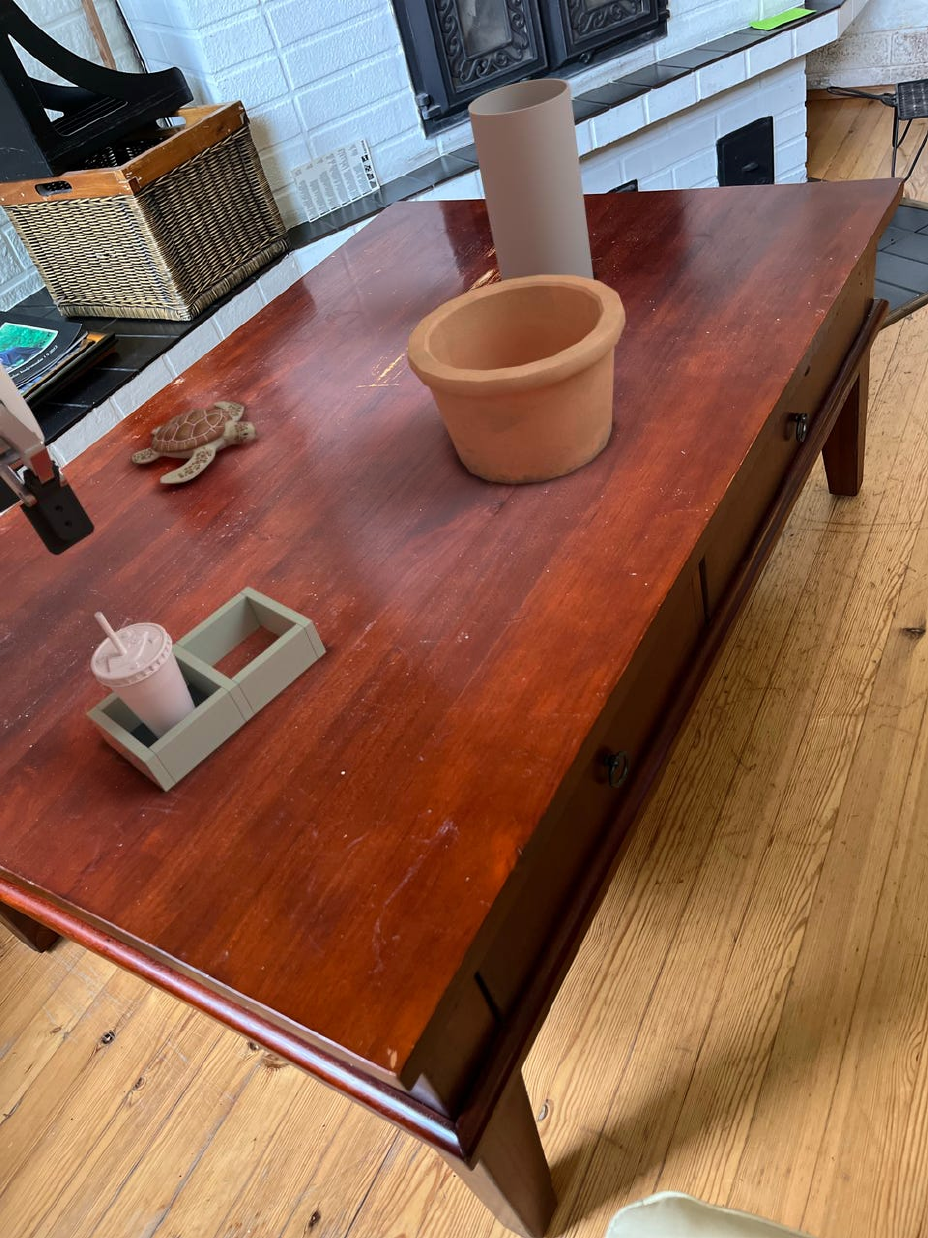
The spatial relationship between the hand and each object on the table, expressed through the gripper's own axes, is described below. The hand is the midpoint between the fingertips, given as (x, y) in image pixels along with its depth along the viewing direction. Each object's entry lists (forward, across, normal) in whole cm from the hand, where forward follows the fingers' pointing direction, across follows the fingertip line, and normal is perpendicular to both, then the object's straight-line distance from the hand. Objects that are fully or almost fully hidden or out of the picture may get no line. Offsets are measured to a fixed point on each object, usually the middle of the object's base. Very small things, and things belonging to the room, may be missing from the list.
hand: (40, 522), depth 63 cm
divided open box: (+24, -1, +5) cm, 24 cm away
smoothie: (+23, 0, +1) cm, 23 cm away
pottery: (+23, 0, +49) cm, 54 cm away
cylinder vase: (+22, -22, +80) cm, 86 cm away
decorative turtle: (+23, -40, +31) cm, 55 cm away
